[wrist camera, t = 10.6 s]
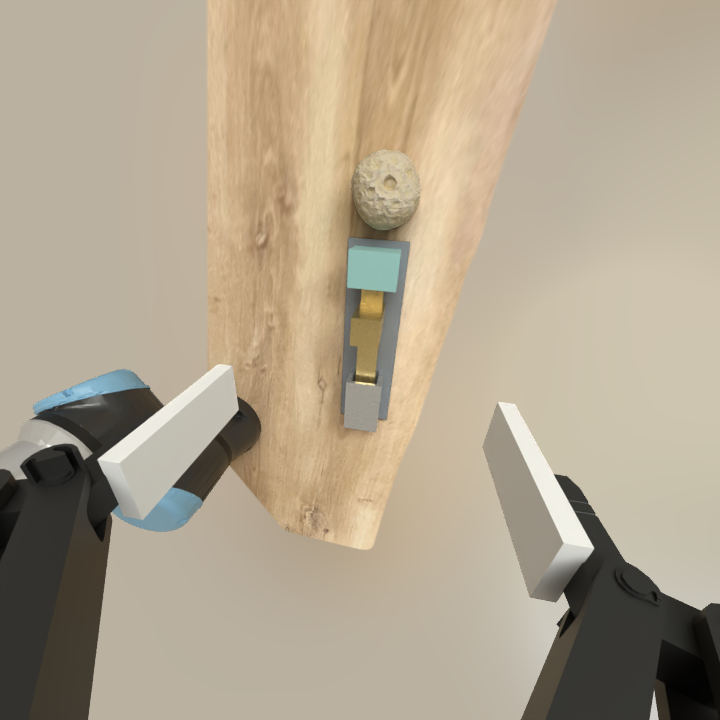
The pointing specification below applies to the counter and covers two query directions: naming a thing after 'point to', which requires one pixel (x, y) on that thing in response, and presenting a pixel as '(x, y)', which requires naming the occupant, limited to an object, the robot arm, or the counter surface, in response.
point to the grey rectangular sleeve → (362, 403)
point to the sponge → (386, 189)
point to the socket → (373, 268)
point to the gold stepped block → (367, 333)
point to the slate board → (389, 329)
